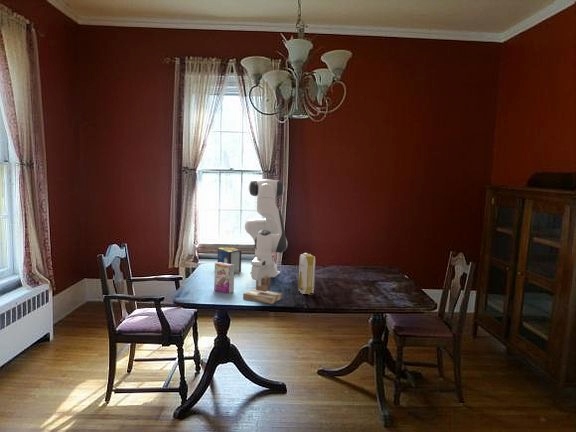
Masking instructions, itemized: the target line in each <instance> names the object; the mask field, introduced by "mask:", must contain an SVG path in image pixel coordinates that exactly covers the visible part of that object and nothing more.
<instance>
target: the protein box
mask: <svg viewBox="0 0 576 432" xmlns="http://www.w3.org/2000/svg"><path fill="white" fill-rule="evenodd" d="M218 262H222V263H227V264H232V265H234V274H237V273H241V272H242V250H241V249H238V248H235V247H231V246H225V247H218V248H217V263H218Z"/></svg>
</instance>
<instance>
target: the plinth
mask: <svg viewBox="0 0 576 432" xmlns="http://www.w3.org/2000/svg"><path fill="white" fill-rule="evenodd" d="M281 298H283V293H281V292H276V291H270V290H268V291H266V292H264V291H258V290H256V287H255V288H252V289H249V290H247V291H246V292H243V294H242V299H244V300H248V301H249V300H250V301H253V302H258V303H265V304H270V305H272V304H274V303H276V302H279V301H280V300H282V299H281Z"/></svg>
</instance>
